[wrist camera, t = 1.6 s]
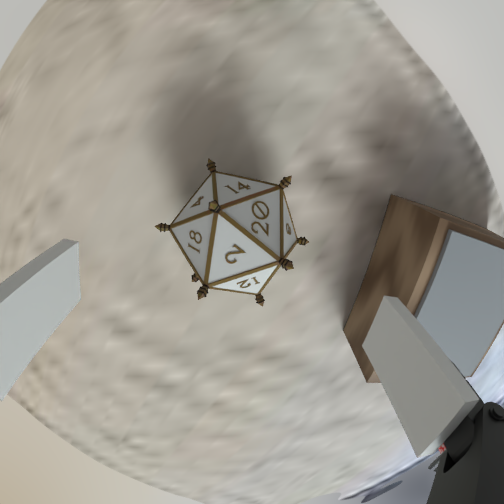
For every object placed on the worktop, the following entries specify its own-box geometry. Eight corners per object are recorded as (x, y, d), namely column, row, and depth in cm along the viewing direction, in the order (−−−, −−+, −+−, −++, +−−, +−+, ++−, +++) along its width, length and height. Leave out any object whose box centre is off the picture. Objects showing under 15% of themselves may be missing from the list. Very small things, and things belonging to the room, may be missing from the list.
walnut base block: (391, 194, 22) (443, 219, 15) (487, 229, 23) (536, 256, 16) (343, 330, 26) (368, 386, 19) (440, 337, 28) (473, 379, 21)
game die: (221, 190, 25) (175, 118, 16) (320, 215, 23) (325, 142, 13) (183, 290, 24) (108, 265, 14) (285, 326, 21) (266, 327, 12)
